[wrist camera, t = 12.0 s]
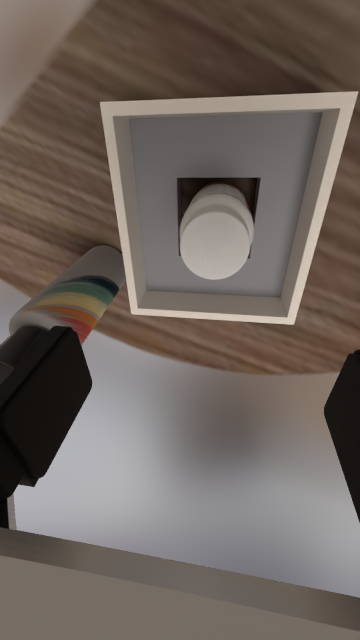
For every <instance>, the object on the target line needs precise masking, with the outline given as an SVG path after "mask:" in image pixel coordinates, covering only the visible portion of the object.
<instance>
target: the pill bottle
mask: <svg viewBox="0 0 360 640" xmlns="http://www.w3.org/2000/svg"><path fill="white" fill-rule="evenodd" d="M253 237H254V223H253V219H252V215H251V212H250V210H249V206H248V203H247V200H246V198H245V196H244V194H243V193H242V191H241V190H240V189H239V188H238V187H236V186H235V185H233V184H231V183H228V182H224V181H217V182H212V183H209V184H207V185H205V186H204V187H202V188H201V189H200V190H199V191H198V192H197V193H196V194H195V196H194V197H193V199H192V201H191V203H190V205H189V207H188V208H187V210H186V212H185V214H184V216H183V218H182V221H181V225H180V253H181V257H182V259H183V261H184V263H185V265H186V266H187V267H188V269H190V270H191V271H192V272H193V273H194V274H196V275H198V276H200V277H202V278H205V279H210V280H218V279H223V278H227V277H229V276H231V275H233V274H235V273H236V272H237V271H239V270H240V269H241V267H242V266H243V265H244V264H245V262H246V260H247V258H248V255H249V252H250V247H251V244H252V241H253Z"/></svg>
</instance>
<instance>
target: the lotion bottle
mask: <svg viewBox="0 0 360 640" xmlns="http://www.w3.org/2000/svg"><path fill="white" fill-rule="evenodd" d="M125 280H126V274H125V267H124V261H123V255H122V254H121V253H120V252H119V251H118V250H116V249H115V248H113V247H110V246H106V245H100V246H96V247H94V248H92V249H90V250H89V251H88V252H86V253H85V254H84V255H83V256H82V257H81V258H79V259H78V260H77V261H76V262H75V263H73V264H72V265H71V266H70V267H69V268H68V269H66V270H65V271H64V272H63V273H62V274H61V275H59V276H58V277H57V278H56V279H55V280H54V281H52V282H51V283H50V284H49V285H48V286H47V287H45V288H44V289H43V290H42V291H41V292H39V293H38V294H37V295H36V296H35V297H34V298H32V299H31V300H30V301H29V302H28V303H27V304H25V305H24V306H23V307H22V308H21V309H20V310H19V311H18V312H16V314H14V315H13V317H12V318H11V320H10V322H9V332H10V336H9V337H8V338H7V339H6V340H5V341H4V342H3V343H2V344H1V345H0V385H1V383H2V382H3V381H4V380H5V379H6V378H7V377H8V376H9V375H10V374H11V372H12V371H13V370H14V369H15V368H16V367H17V366H18V365H19V364H20V362H21V361H22V360H23V359H24V358H25V357H26V356H27V355H28V354H29V352H30V351H31V350H32V349H33V348H34V347H35V346H36V345H37V344H38V343H39V341H40V340H41V339H42V338H43V337H44V336H45V335H46V334H47V333H48V331H49V330H50V329H51V328H52V327H53V326H67V327H72V328H73V330H74V331H76V332H77V334H78V337H79V340H80V343H81V345H82V343H83V342H84V341H85V339H86V338H87V336H88V335H89V333H90V332H91V331H92V329H93V328H94V326H95V325H96V323H97V322H98V320H99V319H100V317H101V316H102V314H103V313H104V312H105V310H106V309H107V307H108V306H109V304H110V303H111V301H112V300H113V298H114V297H115V295H116V294H117V293H118V291H119V290H120V288H121V287H122V285H123V284H124V282H125Z"/></svg>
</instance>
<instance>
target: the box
mask: <svg viewBox="0 0 360 640" xmlns="http://www.w3.org/2000/svg"><path fill="white" fill-rule="evenodd" d="M357 95H358V91H356V92H332V93H308V94H284V95H260V96H236V97H212V98H188V99H164V100H140V101H116V102H100V107H101V114H102V120H103V127H104V134H105V140H106V147H107V154H108V160H109V167H110V174H111V181H112V187H113V194H114V201H115V207H116V214H117V221H118V227H119V234H120V241H121V247H122V254H123V261H124V267H125V274H126V281H127V288H128V294H129V301H130V308H131V314H137V315H152V316H168V317H183V318H199V319H214V320H230V321H245V322H261V323H277V324H292V325H294V322H295V319H296V315H297V312H298V308H299V304H300V301H301V297H302V294H303V290H304V286H305V283H306V279H307V275H308V272H309V268H310V265H311V261H312V257H313V254H314V250H315V247H316V243H317V239H318V236H319V232H320V229H321V225H322V221H323V218H324V214H325V210H326V207H327V203H328V200H329V196H330V192H331V189H332V185H333V182H334V178H335V174H336V171H337V167H338V164H339V160H340V156H341V153H342V149H343V145H344V142H345V138H346V135H347V131H348V127H349V124H350V120H351V117H352V113H353V109H354V106H355V102H356V99H357ZM181 178H257V182H256V190H255V198H254V205H253V213H252V219H253V223H254V237H253V241H252V244H251V247H250V252H249V255H248V258H247V260H246V262H245V264H244V265H243V266H242V267H241V269H240V270H239V271H237V272H236V273H235V274H233V275H231V276H229V277H227V278H223V279H218V280H210V279H205V278H202V277H200V276H198V275H196V274H194V273H193V272H192V271H191V270H190V269H188V267H187V266H186V265H185V263H184V261H183V259H182V257H181V253H180V225H181V221H182V185H181Z"/></svg>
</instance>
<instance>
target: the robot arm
mask: <svg viewBox="0 0 360 640" xmlns="http://www.w3.org/2000/svg"><path fill="white" fill-rule="evenodd" d="M91 387H92V379H91V376H90V372H89V369H88V366H87V363H86V360H85V356H84V353H83V350H82V347H81V343H80V340H79V337H78V334H77V332H76V331H74V330H73V328H72V327H67V326H53V327H52V328H51V329H50V330H49V331H48V333H47V334H46V335H45V336H44V337H43V338H42V339H41V340H40V341H39V343H38V344H37V345H36V346H35V347H34V348H33V349H32V350H31V351H30V352H29V354H28V355H27V356H26V357H25V358H24V359H23V360H22V361H21V362H20V364H19V365H18V366H17V367H16V368H15V369H14V370H13V371H12V372H11V374H10V375H9V376H8V377H7V378H6V379H5V380H4V381H3V382H2V383H1V385H0V640H360V598H358V597H353V596H349V595H344V594H339V593H334V592H329V591H324V590H319V589H314V588H309V587H304V586H299V585H294V584H289V583H284V582H279V581H274V580H269V579H264V578H260V577H254V576H250V575H244V574H240V573H235V572H230V571H225V570H219V569H214V568H209V567H204V566H198V565H194V564H189V563H184V562H179V561H174V560H168V559H163V558H158V557H153V556H148V555H143V554H138V553H132V552H128V551H123V550H118V549H112V548H107V547H102V546H97V545H92V544H86V543H81V542H76V541H71V540H65V539H60V538H55V537H50V536H45V535H39V534H34V533H29V532H23V531H18V530H16V520H15V508H14V496H13V493H14V491H15V489H16V487H17V486H18V484H19V485H25V486H31V487H34V486H35V484H36V482H37V481H38V479H39V478H41V477H43V476H44V475H45V473H46V472H47V470H48V468H49V466H50V465H51V463H52V461H53V459H54V457H55V455H56V453H57V452H58V450H59V448H60V446H61V444H62V442H63V440H64V439H65V437H66V435H67V433H68V431H69V429H70V427H71V425H72V424H73V422H74V420H75V418H76V416H77V414H78V412H79V411H80V409H81V407H82V405H83V403H84V401H85V400H86V398H87V396H88V394H89V392H90V390H91ZM324 415H325V419H326V422H327V425H328V428H329V431H330V434H331V437H332V440H333V443H334V446H335V449H336V452H337V455H338V458H339V461H340V464H341V467H342V470H343V473H344V476H345V479H346V482H347V485H348V488H349V491H350V494H351V497H352V501H353V504H354V507H355V510H356V513H357V516H358V518H359V522H360V350H356V351H355V352H354V353H353V354H349V355H348V357H347V359H346V361H345V363H344V365H343V367H342V369H341V372H340V374H339V376H338V378H337V380H336V382H335V385H334V387H333V389H332V391H331V393H330V395H329V397H328V400H327V402H326V404H325V407H324Z"/></svg>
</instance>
